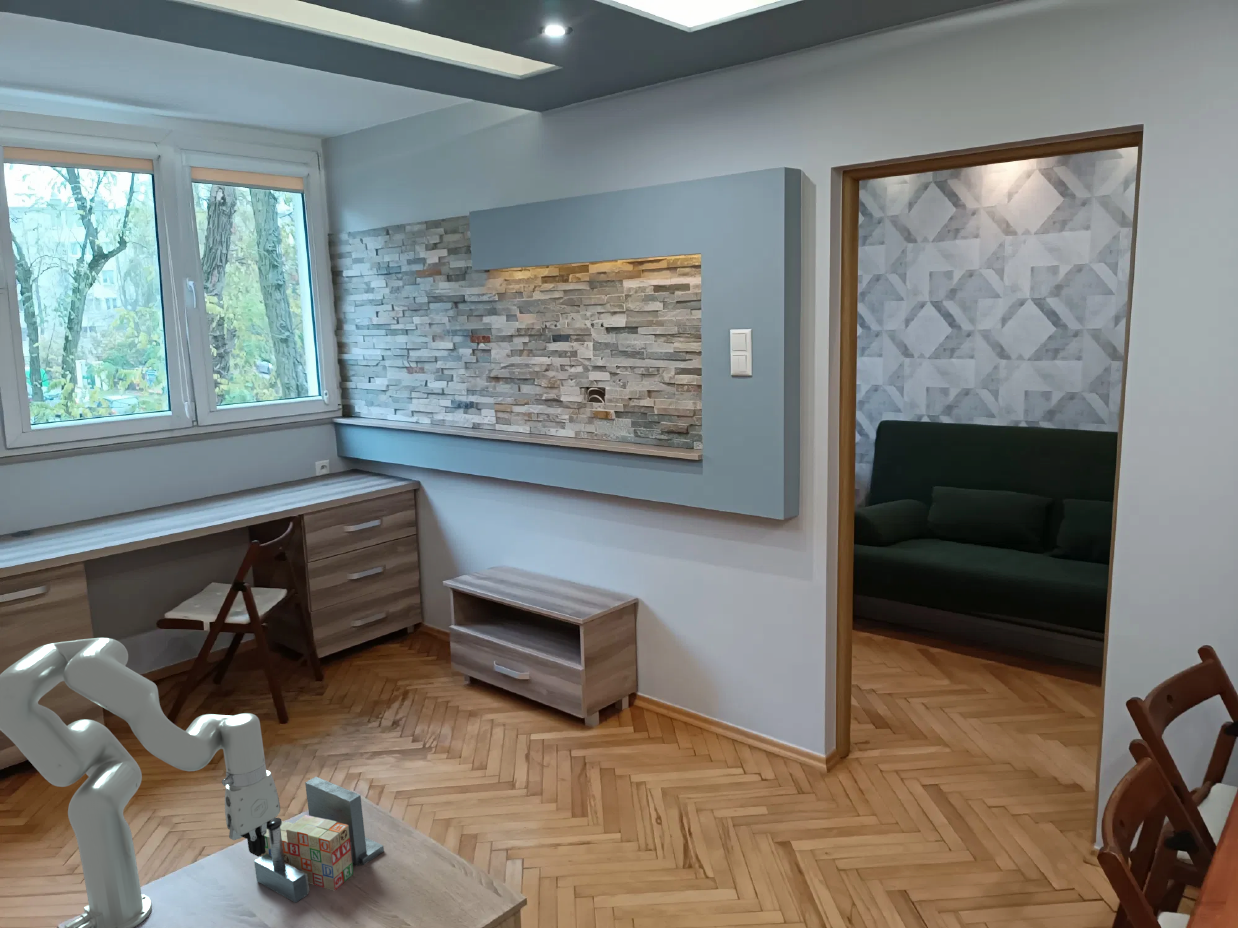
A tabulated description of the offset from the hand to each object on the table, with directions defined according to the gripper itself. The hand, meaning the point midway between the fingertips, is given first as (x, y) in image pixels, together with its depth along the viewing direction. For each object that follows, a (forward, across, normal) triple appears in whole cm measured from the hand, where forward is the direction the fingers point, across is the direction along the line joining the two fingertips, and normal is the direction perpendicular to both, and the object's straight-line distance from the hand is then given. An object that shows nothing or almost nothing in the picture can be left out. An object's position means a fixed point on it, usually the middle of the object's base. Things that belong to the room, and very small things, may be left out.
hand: (258, 852), depth 188 cm
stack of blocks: (+12, +11, 0) cm, 16 cm away
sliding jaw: (+11, +4, 0) cm, 12 cm away
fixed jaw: (+11, +21, 0) cm, 24 cm away
